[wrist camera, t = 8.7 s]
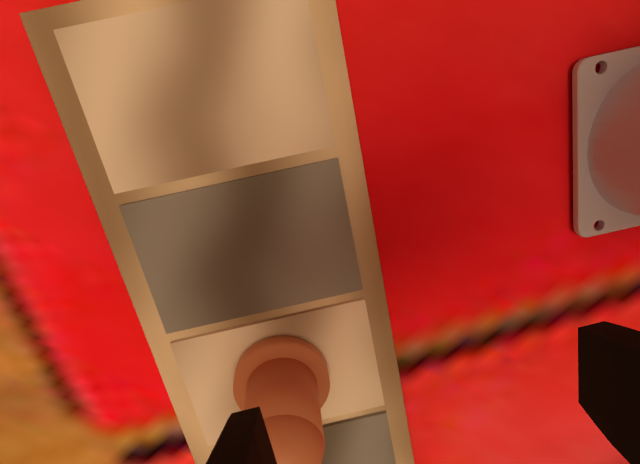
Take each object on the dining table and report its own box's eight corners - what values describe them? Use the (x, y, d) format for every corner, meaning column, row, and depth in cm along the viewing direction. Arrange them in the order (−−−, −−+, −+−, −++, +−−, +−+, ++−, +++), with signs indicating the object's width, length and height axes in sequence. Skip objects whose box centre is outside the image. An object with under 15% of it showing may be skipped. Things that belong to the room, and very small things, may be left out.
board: (323, -41, 15) (327, -53, 14) (415, 485, 24) (422, 505, 22) (36, 19, 15) (15, 12, 14) (230, 529, 23) (227, 551, 22)
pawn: (316, 326, 18) (331, 416, 13) (336, 401, 20) (357, 511, 15) (222, 349, 18) (199, 450, 13) (249, 423, 20) (238, 542, 14)
